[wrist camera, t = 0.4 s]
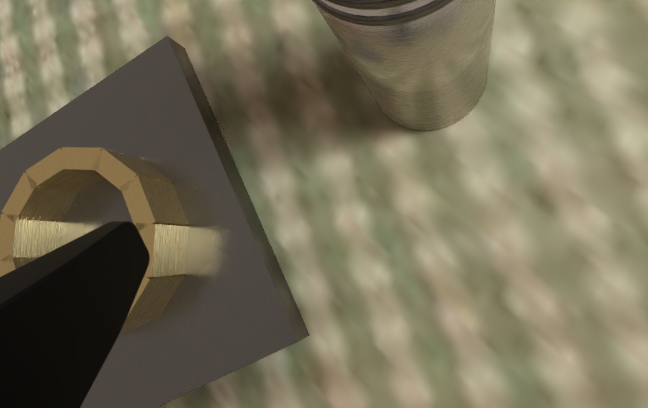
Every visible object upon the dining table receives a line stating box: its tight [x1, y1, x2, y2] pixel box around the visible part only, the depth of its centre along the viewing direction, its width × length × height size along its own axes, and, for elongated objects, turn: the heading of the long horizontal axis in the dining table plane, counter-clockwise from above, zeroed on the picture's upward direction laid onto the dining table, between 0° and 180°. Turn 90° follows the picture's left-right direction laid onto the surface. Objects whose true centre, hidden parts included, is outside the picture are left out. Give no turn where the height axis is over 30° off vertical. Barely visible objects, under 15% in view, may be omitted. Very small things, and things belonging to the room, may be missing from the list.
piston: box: [312, 0, 496, 131], centre depth 15 cm, size 5×5×12 cm
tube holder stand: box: [0, 36, 309, 408], centre depth 23 cm, size 16×14×4 cm
